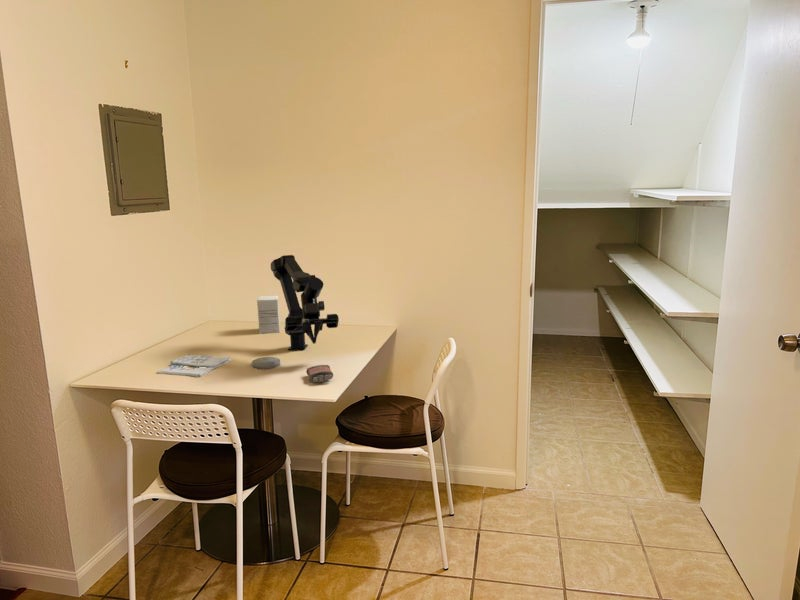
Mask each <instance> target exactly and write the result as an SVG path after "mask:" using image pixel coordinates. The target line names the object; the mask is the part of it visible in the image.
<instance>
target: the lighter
mask: <svg viewBox="0 0 800 600" xmlns="http://www.w3.org/2000/svg"><path fill="white" fill-rule="evenodd" d="M305 372H306V375H307V376H308V380H309V382H311V383H322V382H327V381H329V380H332V379H333V377H334V373H333V371H332V369H331V367H330V366H329V365H328V364H318V365H313V366H310V367H307V369H306V371H305Z"/></svg>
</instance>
